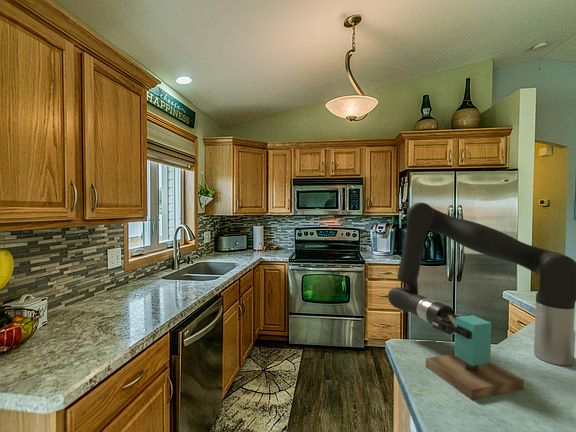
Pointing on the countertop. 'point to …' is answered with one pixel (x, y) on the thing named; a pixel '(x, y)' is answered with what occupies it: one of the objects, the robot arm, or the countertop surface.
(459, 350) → the tall teal pillar
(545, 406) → the countertop surface
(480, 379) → the post stand
